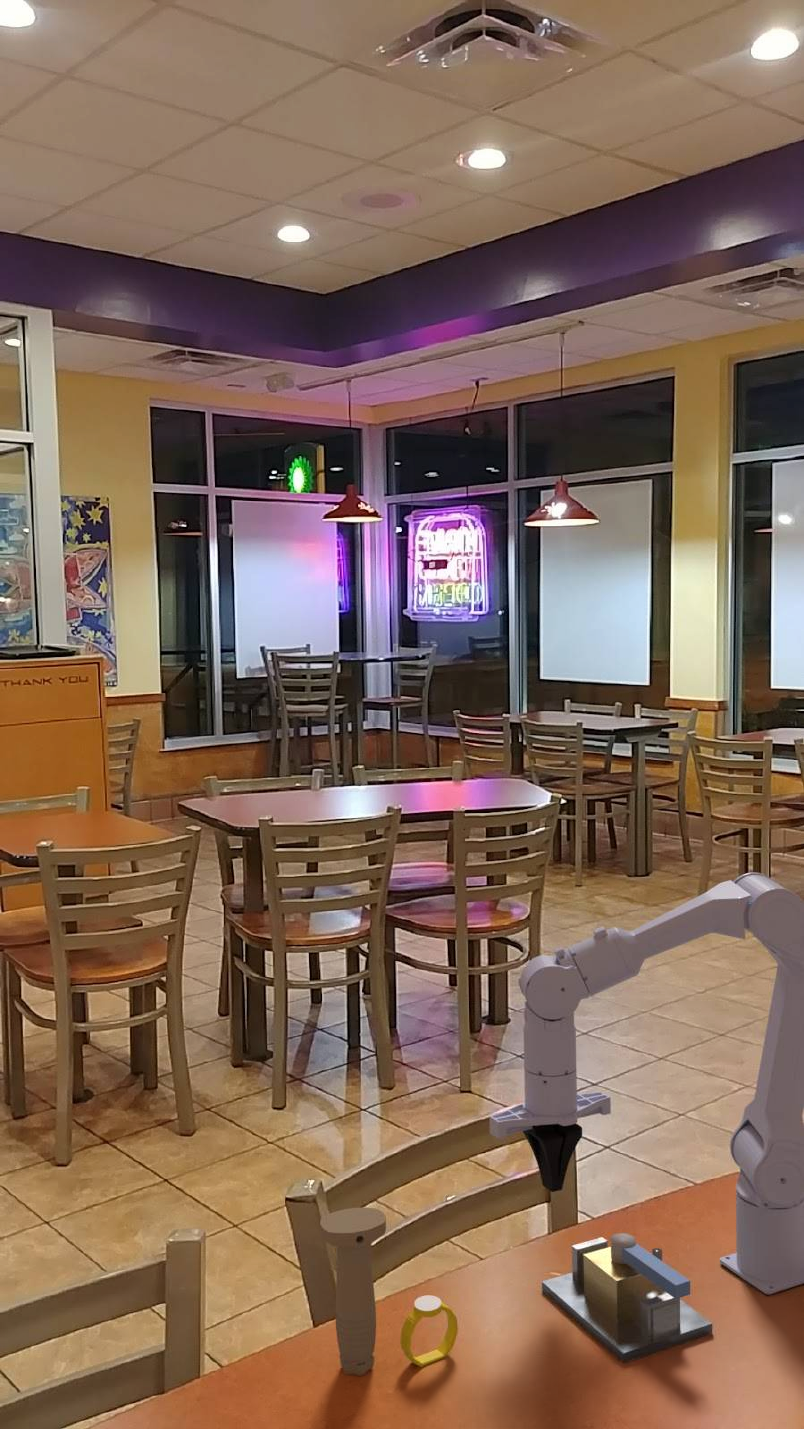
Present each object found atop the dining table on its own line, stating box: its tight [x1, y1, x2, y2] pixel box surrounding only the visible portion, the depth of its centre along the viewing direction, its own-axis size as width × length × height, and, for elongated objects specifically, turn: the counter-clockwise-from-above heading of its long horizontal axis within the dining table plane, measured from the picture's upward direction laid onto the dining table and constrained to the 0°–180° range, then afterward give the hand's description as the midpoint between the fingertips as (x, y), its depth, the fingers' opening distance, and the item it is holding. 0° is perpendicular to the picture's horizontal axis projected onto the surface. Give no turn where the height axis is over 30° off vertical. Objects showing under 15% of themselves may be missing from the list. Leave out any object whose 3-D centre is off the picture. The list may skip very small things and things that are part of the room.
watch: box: [400, 1294, 459, 1368], centre depth 121 cm, size 6×3×6 cm, turn 122°
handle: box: [319, 1207, 387, 1377], centre depth 119 cm, size 5×6×15 cm
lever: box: [610, 1232, 691, 1299], centre depth 124 cm, size 11×3×2 cm, turn 27°
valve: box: [541, 1237, 713, 1364], centre depth 128 cm, size 11×15×7 cm
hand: (552, 1187), depth 135 cm, fingers closed
